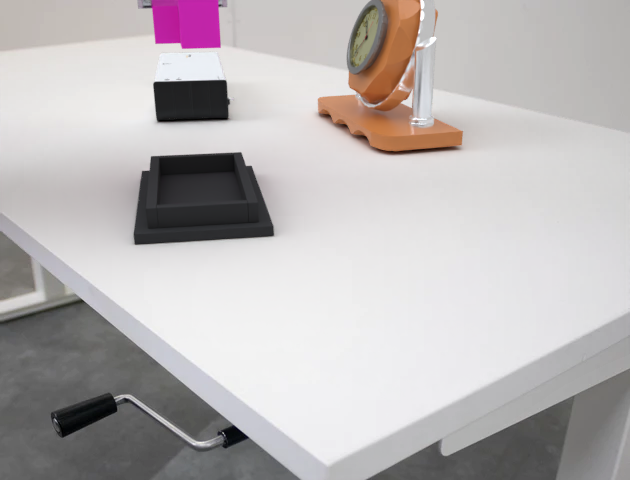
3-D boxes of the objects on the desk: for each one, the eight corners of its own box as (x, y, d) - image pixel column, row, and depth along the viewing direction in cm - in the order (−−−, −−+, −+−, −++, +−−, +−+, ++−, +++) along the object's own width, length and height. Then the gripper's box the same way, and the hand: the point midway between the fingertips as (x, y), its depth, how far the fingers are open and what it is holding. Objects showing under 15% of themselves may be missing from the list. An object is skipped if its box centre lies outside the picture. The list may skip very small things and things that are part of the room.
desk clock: (381, 107, 128) (385, -23, 119) (465, 148, 102) (478, -14, 93) (312, 112, 124) (311, -22, 116) (380, 156, 99) (386, -12, 90)
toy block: (154, 33, 86) (148, -40, 82) (210, 31, 87) (205, -41, 84) (155, 49, 73) (147, -37, 69) (220, 47, 74) (216, -38, 70)
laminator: (162, 86, 147) (159, 52, 145) (225, 84, 149) (224, 51, 146) (156, 123, 117) (152, 81, 114) (236, 120, 119) (234, 79, 116)
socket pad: (134, 244, 70) (131, 213, 69) (142, 178, 90) (140, 153, 88) (273, 235, 72) (272, 205, 71) (252, 173, 92) (251, 148, 90)
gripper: (54, -154, 68) (76, 11, 74) (281, -150, 71) (283, 8, 77) (63, -147, 73) (82, 6, 79) (272, -144, 76) (275, 4, 83)
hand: (183, 7), depth 78 cm, fingers closed on toy block, 6 cm apart
